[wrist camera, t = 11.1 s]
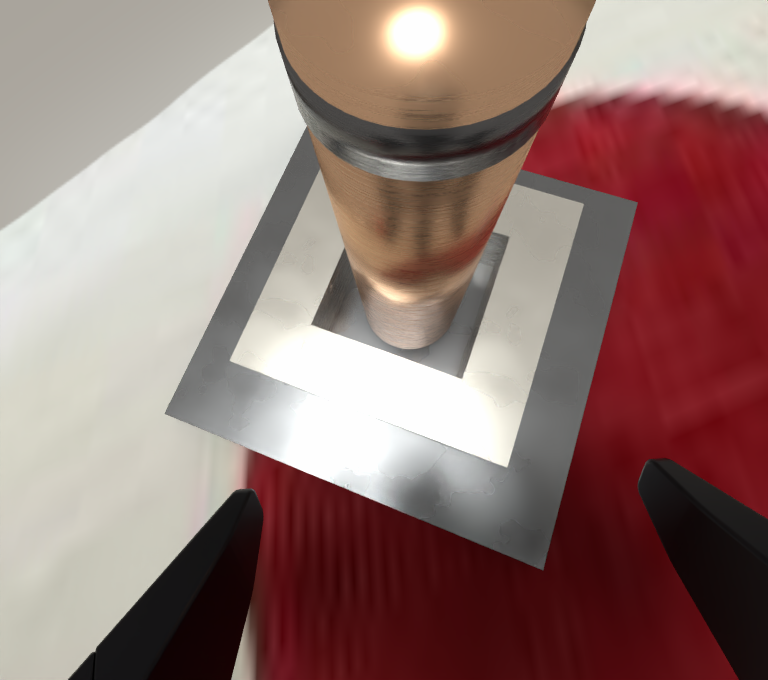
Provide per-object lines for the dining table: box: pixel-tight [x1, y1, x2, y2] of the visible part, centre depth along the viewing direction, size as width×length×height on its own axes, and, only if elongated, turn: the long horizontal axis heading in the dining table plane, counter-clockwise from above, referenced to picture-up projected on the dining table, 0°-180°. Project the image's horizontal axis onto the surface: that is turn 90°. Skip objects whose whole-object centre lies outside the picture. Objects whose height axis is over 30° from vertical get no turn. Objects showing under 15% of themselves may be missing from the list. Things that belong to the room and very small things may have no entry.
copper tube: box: [268, 0, 596, 349], centre depth 12 cm, size 4×4×14 cm
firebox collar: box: [165, 127, 637, 570], centre depth 18 cm, size 18×18×4 cm
